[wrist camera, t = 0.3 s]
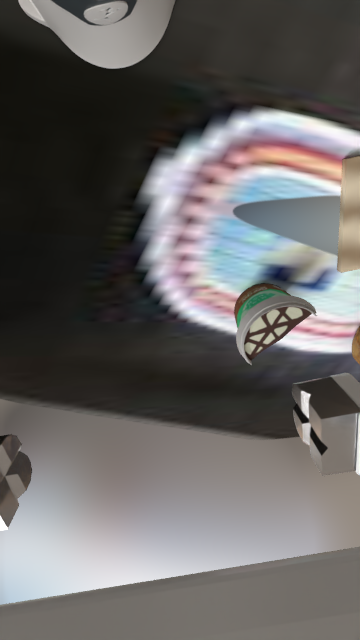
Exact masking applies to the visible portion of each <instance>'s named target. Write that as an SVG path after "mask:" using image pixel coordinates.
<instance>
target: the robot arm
mask: <svg viewBox="0 0 360 640" xmlns="http://www.w3.org/2000/svg"><path fill="white" fill-rule="evenodd" d="M18 1H19V4H20V6H21V7H22V9H23V10H24V12H25V13H26V14H27V15H28V16H29V17H31V18H32V19H34V20H35V21H37V22H39V23H41V24H43V25H45V26H47V27H49V28H51V29H52V30H53V31H54V32H55V33H56V34H57V35H58V36H59V37H60V38H61V40H62V41H63V42H64V43H65V44H66V45H67V46H68V47H69V48H70V49H71V50H72V51H73V52H74V53H75V54H77V55H78V56H79V57H81V58H82V59H84V60H86V61H87V62H89V63H92V64H94V65H97V66H100V67H104V68H123V67H127V66H130V65H133V64H135V63H137V62H139V61H140V60H142V59H143V58H145V57H146V56H147V55H148V54H149V53H150V52H151V51H152V50H153V49H154V48H155V47H156V46H157V44H158V43H159V41H160V40H161V38H162V36H163V34H164V32H165V30H166V28H167V25H168V23H169V20H170V16H171V13H172V10H173V6H174V3H175V0H18ZM292 396H293V398H294V399H295V401H296V402H297V404H296V405H295V407H294V408H293V412H294V420H295V424H296V428H297V430H298V433H299V435H300V437H301V439H302V441H303V442H304V443H306V444H307V445H309V446H310V455H311V457H312V459H313V460H314V462H315V464H316V466H317V467H318V469H319V471H320V473H321V474H322V475H330V474H337V473H343V472H351V471H356V473H358V474H359V475H360V383H359V382H358V381H357V380H356V379H355V378H354V377H353V376H351V375H350V374H348V373H343V374H338V375H333V376H329V377H327V378H321V379H316V380H310V381H305V382H300V383H294V384H293V386H292ZM21 445H22V444H21V442H20V441H19V439H18V437H17V436H16V435H12V434H11V435H4V436H0V530H5V529H8V527H9V525H10V523H11V521H12V519H13V517H14V515H15V513H16V511H17V509H18V506H19V503H18V499H17V498H19V497H20V496H21V495H22V494H23V493H24V492H25V491H26V490H27V487H28V485H29V483H30V481H31V473H32V468H31V462H30V460H29V458H28V456H27V455H25V454H24V453H22V452H20V448H21ZM0 640H360V547H355V548H349V549H343V550H337V551H331V552H324V553H318V554H313V555H306V556H300V557H294V558H287V559H282V560H275V561H269V562H263V563H257V564H251V565H245V566H239V567H233V568H226V569H221V570H214V571H208V572H202V573H196V574H190V575H184V576H178V577H171V578H165V579H159V580H153V581H146V582H140V583H134V584H128V585H122V586H115V587H109V588H103V589H96V590H91V591H84V592H78V593H72V594H65V595H60V596H53V597H47V598H41V599H35V600H28V601H22V602H16V603H9V604H3V605H0Z"/></svg>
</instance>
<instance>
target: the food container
mask: <svg viewBox="0 0 360 640" xmlns="http://www.w3.org/2000/svg"><path fill="white" fill-rule="evenodd" d="M315 313H316V311H315V308H314V307H313V306H312V305H311V304H310V303H309V302H307V301H306V300H304V299H301V298H299V297H294V296H291V295H290V294H288V293H287V292H286V291H284V290H283V289H281V288H280V287H278V286H275V285H273V284H265V283H263V284H258V285H254V286H252V287H250V288H248V289H247V290H245V291H244V292H243V293H242V294H241V295H240V297H239V298H238V300H237V302H236V304H235V309H234V314H235V319H236V323H237V328H238V330H237V338H236V341H237V346H238V349H239V352H240V353H241V355H242V356H243V357H244V359H245V360H246V361H247V362H248V363H250V364H251V365H252V363H251V360H252V359H253V358H255V357H256V356H257V355H258V354H259V353H261V352H262V351H263V350H265V349H266V348H268V347H269V346H271V345H273V344H274V343H276V342H277V341H279V340H280V339H282V338H283V337H284V336H285V335H286V334H287V333H288V332H290V331H291V330H292V329H293V328H294V327H295V326H296V325H298V324H299V323H300V322H302V321H303V320H304V319H305V318H307V317H308V316H309V315H311V314H314V315H315V316H317V315H316V314H315Z"/></svg>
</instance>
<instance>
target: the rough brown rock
mask: <svg viewBox="0 0 360 640" xmlns="http://www.w3.org/2000/svg"><path fill="white" fill-rule="evenodd" d="M352 355H353V357H354V359H355V360H356V361H357V362H358V363H359V364H360V327H359V328H358V330H357V332H356V334H355V337H354V339H353V342H352Z"/></svg>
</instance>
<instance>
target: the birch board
mask: <svg viewBox="0 0 360 640" xmlns="http://www.w3.org/2000/svg"><path fill="white" fill-rule="evenodd" d="M340 203H341V204H340V222H339V223H340V224H339V242H338V263H337V270H338V271H339V272H341V273H342V272H347V271H352V270H357V269H360V156H355V157H351V158H346V159H343V161H342V181H341V202H340Z"/></svg>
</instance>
